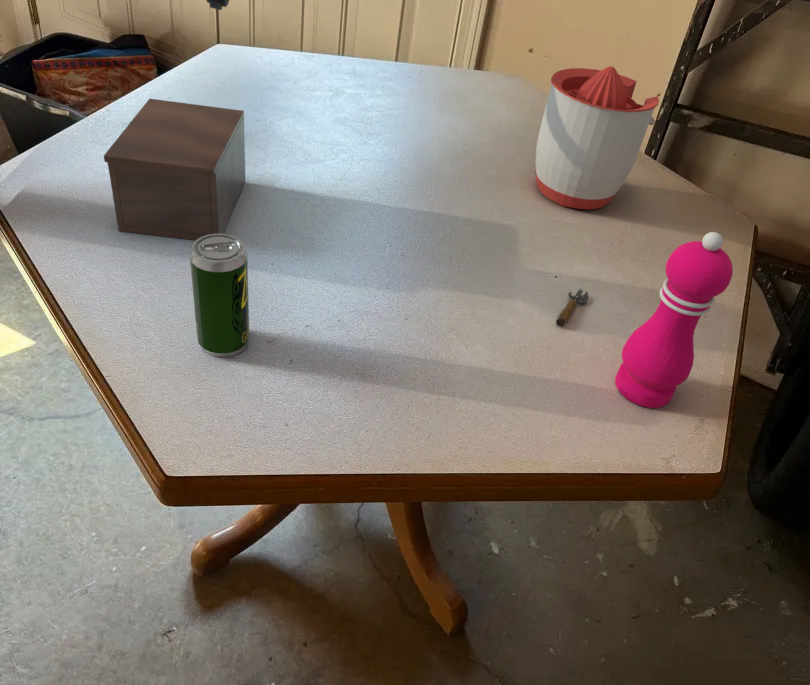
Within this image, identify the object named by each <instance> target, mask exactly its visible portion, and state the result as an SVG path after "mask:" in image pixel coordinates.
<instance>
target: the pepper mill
mask: <svg viewBox="0 0 810 685" xmlns="http://www.w3.org/2000/svg"><path fill="white" fill-rule="evenodd" d="M723 243H724V239H723V236H722V235H721V234H720V233H718V232H715V231H710V232H708V233H706V234H705V235H704V236H703V238H702V240H693V241H692V240H691V241H687V242H685V243H683V244H681V245H679V246H677V247H676V248H675V249H674V250H673V251H672V252H671V254H670V256H669V257H668V258H667V261H666V264H665V276H666V279H664V281H663V283H662V287H661V288H660V290H659V297H660V301H659V304H658V306H657V308H656V309H655V311H654V313H653V314H652V315H651V316H650V317H649V318H648V319H647V320H646V321H645V322H644V323H643V324H642V325H640V326H639V327H637V328H636V329H635V330H634V331H633V332H632V334H631V335H630V336H629V337H628V338H627V339H626V340H625V341H626V342H624V345H623V347H622V349H621V360H622V363H621V364H620V366H619V368H618V370H617V373H616V375H615V377H614V378H615V379H614V383H615V387H616V389H617V390H618V392H619V393H620V394H621V395H622V396H623V397H624V398H625V399H627V400H628V401H629V402H631V403H633V404H634V405H637V406H640V407H643V408H649V409H658V408H662V407H665V406H667V405H668V404H669V403H670V402H671V400H672V398H673V396H674V395H675V392H676V391H677V386H680V385H681V384H683V383H684V382H685V381H686V380H687V379H688V378H689V377H690V374H691V372H692V370H693V367H694V359H695V350H694V348H695V347H694V336H695V332H696V331H695V330H696V327H697V325H698V323H699V320H700V319H701V317H702V316H704V315H706V314H707V313H709V311H711V309H712V308H711V307H712V305H713V304H714V302H715V297H718V296H719V295H721V294H722V293H724V292H725V291H726V289H727V288H728V287H729V285H730V283H731V281H732V278H733V273H734V270H733V269H734V268H733V262H732V259H731V257H730V256H729V254H728V253H727V252H726V251H725V250H724V249H722V246H723Z"/></svg>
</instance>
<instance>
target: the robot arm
mask: <svg viewBox="0 0 810 685" xmlns="http://www.w3.org/2000/svg"><path fill="white" fill-rule="evenodd" d="M229 2H230V0H206V3H209V8H210V9H214V10H219V11H222V10H223V7H224V8H227V6H228V5H229Z"/></svg>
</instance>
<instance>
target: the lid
mask: <svg viewBox="0 0 810 685" xmlns="http://www.w3.org/2000/svg"><path fill="white" fill-rule="evenodd" d="M243 117H244V118H245V111H244V110H242V109H241V110H240V109H233V108H225V107H217V106H211V105H210V106H209V105H202V104H195V103H188V102H179V101H172V100H164V99H157V98H149V99H148V100H146V103H144V104H143V106H142V107H141V108H140V110H139V111H138V112H137V113H136V115H135V116H134V117H133V118H132V120H131V121H130V122H129V124H128V125H127V126H126V127H125V129H124V130H123V131H122V132H121V133H120V134H119V136H118V137H117V139H116V140H115V141H114V142H113V143H112V145H111V146H110V147H109V148H108V150H107V151H106V152H105V153H104V155H103V160H104V163H108V162H109V163H117V164H125V165H133V166H141V167H149V168H157V169H165V170H173V171H181V172H189V173H197V174H206V175H214V174H215V172H216V170H217V168H218V166H219V165H220V163H221V161H222V159H223V157H224V155H225V153H226V151H227V149H228V147H229V145H230V143H231V141H232V139H233V137H234V135H235V133H236V131H237V129H238V127H239V125H240V123H241V121H242V119H243Z"/></svg>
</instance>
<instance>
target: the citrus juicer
mask: <svg viewBox="0 0 810 685" xmlns="http://www.w3.org/2000/svg"><path fill="white" fill-rule="evenodd" d="M550 82H551V84H550V88H549V93H548V97H547V100H546V104H545V109H544V111H543V116H542V120H541V124H540V128H539V131H538V137H537V141H536V150H535V171H534V172H535V173H534V174H535V181H536V186H537V189H538V190H539V192H540V193H541V194H542V195H544V197H546V198H548V199H549V200H551V201H552V202H554V203H557V204H558V205H559V206H561V207H564V208H572V209H578V210H579V209H580V210H597V209H601V208H603V207H605V206H607V205H608V204H609V203H610V202H611V200H613V198H615V197H616V196H617V194H618V193H619V190H620V189H621V188H622V187H623V185H624V183H625V182H626V181H627V179H628V177H629V175H630V173H631V171H632V169H633V167H634V165H635V162H636V160H637V158H638V155H639V153H640V149H641V147H642V144H643V142H644V138H645V136H646V133H647V131H648V127H649V126H654V125H655V118H654V117H653V113H654V110H655V108H656V107H658V106H659V103H660V99H659V96H652V97H648V98H645V101H644V104H639V103H637V102H636V101H635V100H634V99H633V95H634V91H635V88H636V84H637V82H638V81H637V80H635V79H632V78H630V77H628V76H625V75H622V74H619V72H618V71H617V69H616V68H615V67H614V66H612V65H609V66H607V67H605V68H602V69H601V70H600V69H593V68H585V67H584V68H583V67H575V68H573V67H572V68H571V67H570V68H564V69H560V70H558V71H555V73H553V74H552V76H551V78H550Z"/></svg>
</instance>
